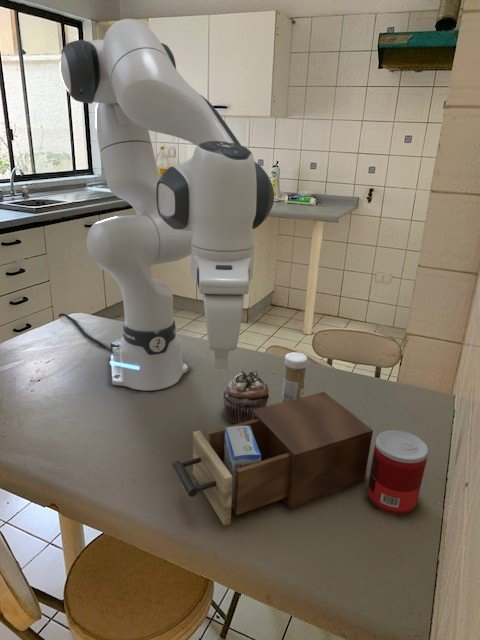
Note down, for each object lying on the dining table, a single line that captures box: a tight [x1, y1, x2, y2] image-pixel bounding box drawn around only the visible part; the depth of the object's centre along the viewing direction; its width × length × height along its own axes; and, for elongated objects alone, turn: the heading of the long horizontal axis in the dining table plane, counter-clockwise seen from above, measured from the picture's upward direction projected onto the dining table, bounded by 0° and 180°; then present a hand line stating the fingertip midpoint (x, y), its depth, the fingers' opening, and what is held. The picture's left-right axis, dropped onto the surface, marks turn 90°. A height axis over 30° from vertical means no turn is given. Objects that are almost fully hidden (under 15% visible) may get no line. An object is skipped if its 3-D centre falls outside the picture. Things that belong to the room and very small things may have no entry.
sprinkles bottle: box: [282, 351, 308, 402], centre depth 98 cm, size 5×5×14 cm
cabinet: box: [252, 391, 374, 510], centre depth 81 cm, size 16×14×11 cm
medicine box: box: [223, 426, 261, 501], centre depth 75 cm, size 8×4×9 cm, turn 12°
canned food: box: [367, 429, 429, 515], centre depth 75 cm, size 8×8×11 cm
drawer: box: [172, 419, 292, 526], centre depth 75 cm, size 19×12×9 cm, turn 117°
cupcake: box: [222, 370, 270, 425], centre depth 97 cm, size 10×10×10 cm
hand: (220, 351), depth 71 cm, fingers open, 8 cm apart
